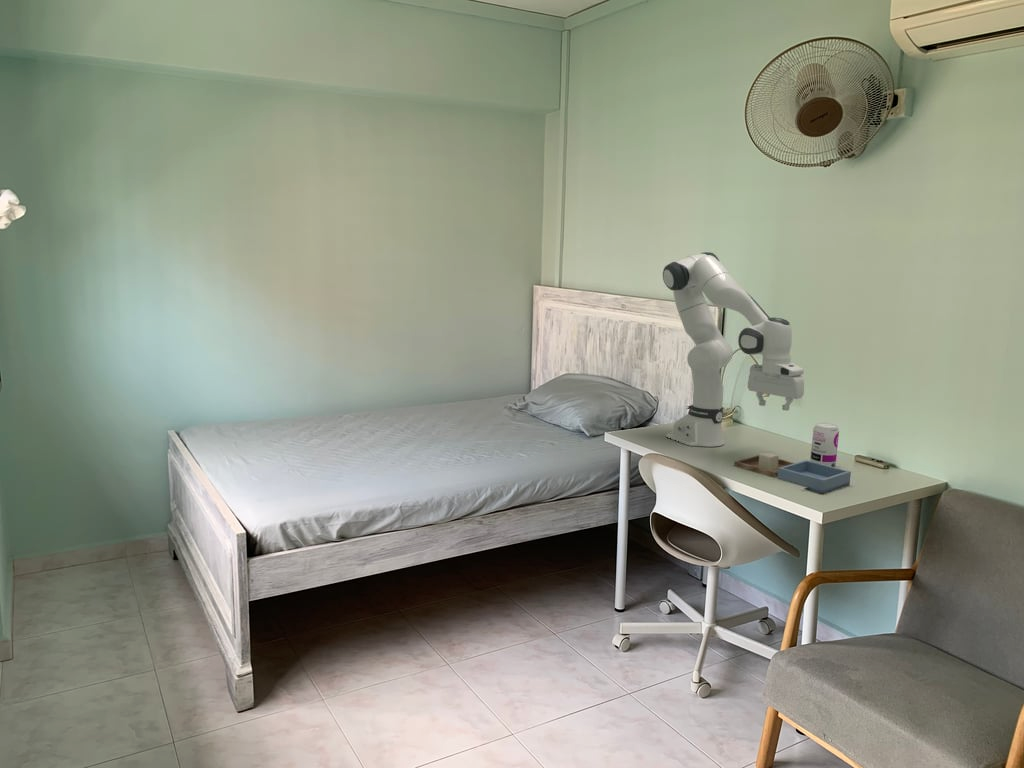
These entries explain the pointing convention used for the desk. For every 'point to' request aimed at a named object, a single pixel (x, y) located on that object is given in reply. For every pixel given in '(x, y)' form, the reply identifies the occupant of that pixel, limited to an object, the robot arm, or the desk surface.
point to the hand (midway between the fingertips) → (773, 407)
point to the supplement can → (825, 444)
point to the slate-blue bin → (815, 476)
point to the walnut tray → (753, 466)
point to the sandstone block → (768, 461)
